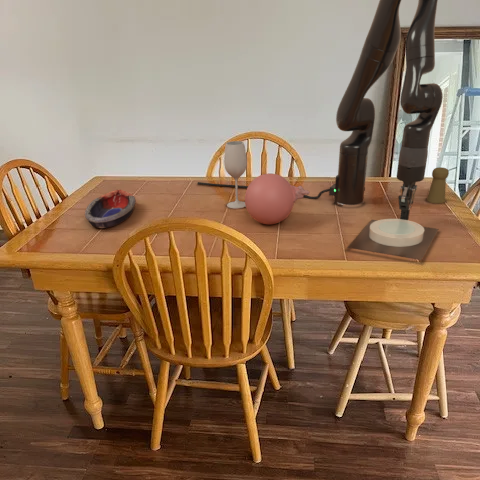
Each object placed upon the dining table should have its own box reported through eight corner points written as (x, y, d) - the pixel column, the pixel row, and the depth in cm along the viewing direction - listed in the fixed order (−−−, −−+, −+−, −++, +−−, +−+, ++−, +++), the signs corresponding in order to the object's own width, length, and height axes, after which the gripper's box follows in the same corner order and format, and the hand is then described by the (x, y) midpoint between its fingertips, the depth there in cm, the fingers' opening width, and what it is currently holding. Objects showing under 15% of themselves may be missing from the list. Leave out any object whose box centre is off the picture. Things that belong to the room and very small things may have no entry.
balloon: (309, 231, 151) (312, 181, 143) (244, 232, 153) (242, 182, 145) (307, 214, 164) (309, 167, 156) (246, 214, 166) (245, 168, 158)
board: (346, 250, 138) (347, 247, 138) (371, 222, 156) (371, 219, 155) (421, 263, 130) (421, 260, 129) (438, 232, 147) (438, 228, 147)
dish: (76, 232, 157) (72, 217, 154) (103, 201, 183) (100, 188, 180) (124, 232, 156) (122, 216, 153) (145, 200, 182) (143, 187, 180)
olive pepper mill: (446, 203, 168) (452, 170, 162) (427, 203, 169) (432, 170, 164) (443, 197, 173) (449, 165, 167) (425, 197, 174) (430, 165, 169)
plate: (362, 241, 141) (363, 232, 139) (376, 224, 152) (377, 215, 150) (416, 250, 134) (418, 241, 133) (427, 231, 145) (429, 222, 144)
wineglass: (222, 207, 173) (219, 145, 162) (231, 200, 179) (228, 140, 168) (243, 209, 170) (241, 146, 159) (251, 202, 176) (249, 141, 165)
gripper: (404, 155, 146) (396, 212, 155) (393, 166, 136) (385, 226, 145) (430, 157, 143) (421, 215, 152) (421, 169, 133) (411, 230, 142)
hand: (403, 221), depth 149 cm, fingers closed
